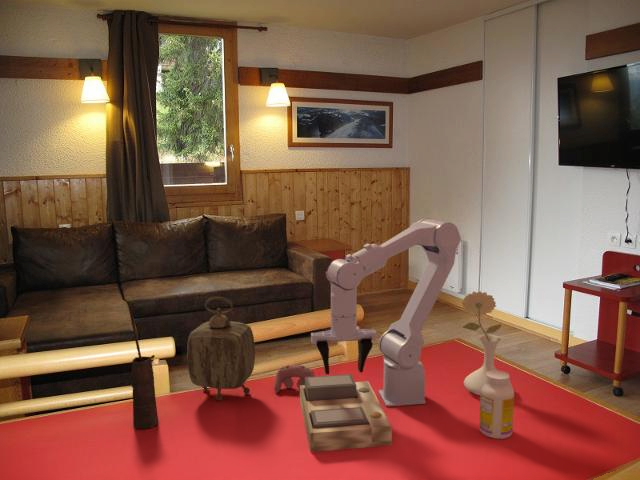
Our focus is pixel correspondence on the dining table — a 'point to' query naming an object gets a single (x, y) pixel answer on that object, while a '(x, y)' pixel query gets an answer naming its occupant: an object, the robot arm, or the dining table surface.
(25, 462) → the dining table surface
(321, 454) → the dining table surface
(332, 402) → the switch panel
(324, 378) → the key grey
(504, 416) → the supplement bottle
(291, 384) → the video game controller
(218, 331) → the tabletop clock
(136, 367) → the butter churn
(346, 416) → the brown block
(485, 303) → the flower in vase
